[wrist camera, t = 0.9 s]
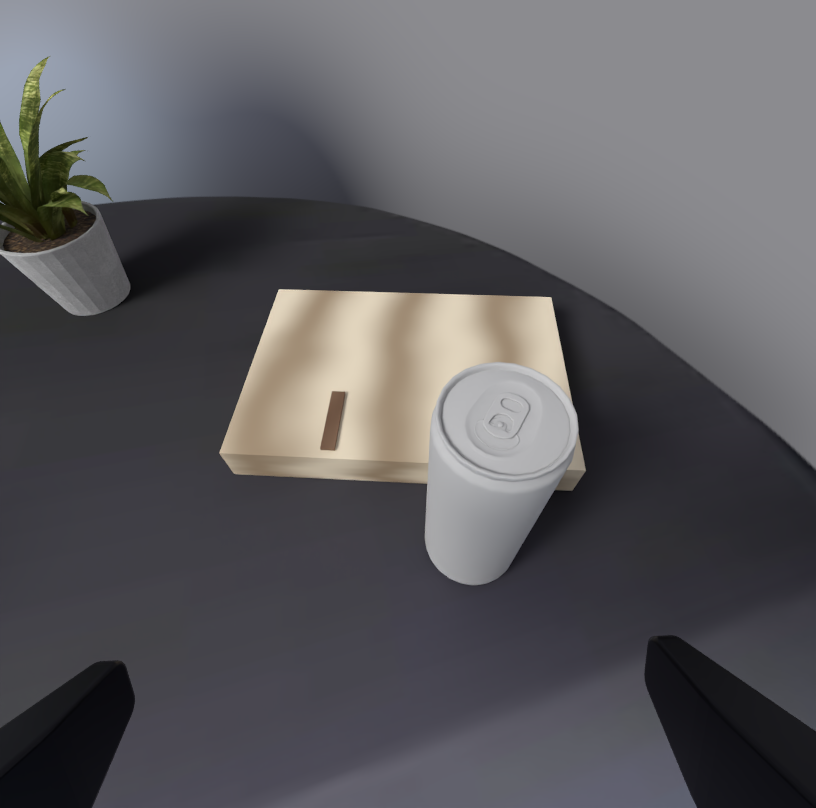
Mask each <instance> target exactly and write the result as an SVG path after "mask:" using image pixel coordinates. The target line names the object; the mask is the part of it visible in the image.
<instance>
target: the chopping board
mask: <svg viewBox="0 0 816 808" xmlns="http://www.w3.org/2000/svg"><path fill="white" fill-rule="evenodd" d="M492 362H504V363H515V364H518V365H522V366H525V367H529V368H532V369H534V370H536V371H538V372H540V373H542V374H544V375H546V376H547V377H549V378H550V379H551V380H552V381H554V382H555V383H556V384H557V385H559V386H560V387H561V388H562V390H563V391H564V392H565V393H566V395H567V396H568V397H569V398H570V400H571V402H572V399H571V394H570V389H569V384H568V379H567V374H566V369H565V364H564V359H563V354H562V349H561V344H560V339H559V334H558V329H557V324H556V319H555V314H554V309H553V304H552V299H551V297H524V296H490V295H455V294H421V293H386V292H351V291H317V290H282V289H279V291H278V293H277V296H276V299H275V302H274V304H273V307H272V310H271V313H270V315H269V318H268V321H267V324H266V326H265V329H264V332H263V335H262V337H261V340H260V343H259V346H258V348H257V351H256V354H255V357H254V359H253V362H252V365H251V368H250V370H249V373H248V376H247V379H246V381H245V384H244V387H243V390H242V392H241V395H240V398H239V401H238V403H237V406H236V409H235V412H234V414H233V417H232V420H231V423H230V425H229V428H228V431H227V434H226V436H225V439H224V442H223V445H222V447H221V450H220V455H221V456H222V457H223V459H224V460H225V462H226V463H227V464H228V466H229V467H230V469H231V470H232V471H233V473H234V474H244V475H264V476H284V477H304V478H324V479H344V480H365V481H385V482H405V483H425V484H427V482H428V462H429V441H430V427H431V419H432V413H433V410H434V408H435V406H436V403H437V400H438V397H439V395H440V393H441V391H442V389H443V387H444V386H445V385H446V384H447V383H448V382H449V381H450V380H451V379H452V377H454V376H455V375H457V374H458V373H460V372H462V371H463V370H465V369H467V368H470V367H473V366H476V365H479V364H483V363H492ZM585 471H586V469H585V464H584V459H583V454H582V449H581V444H580V439H579V434H578V436H577V441H576V446H575V450H574V455H573V459H572V462H571V463H570V465H569V467H568V468H567V470H566V472H565V473H564V475H563V477H562V478H561V480H560V482H559V483H558V485H557V487H556V489H555V490H566V491H573V489H574V488H575V486H576V485H577V483H578V482H579V480H580V479H581V477H582V476H583V474H584V473H585Z"/></svg>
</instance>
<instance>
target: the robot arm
mask: <svg viewBox="0 0 816 808" xmlns="http://www.w3.org/2000/svg"><path fill="white" fill-rule="evenodd" d="M645 683H646V687H647V690H648V692H649V695H650V697H651V700H652V702H653V705H654V707H655V709H656V712H657V714H658V717H659V719H660V722H661V724H662V726H663V729H664V731H665V734H666V736H667V739H668V741H669V743H670V746H671V748H672V751H673V753H674V755H675V758H676V760H677V763H678V765H679V768H680V770H681V772H682V775H683V777H684V780H685V782H686V784H687V787H688V789H689V791H690V793H691V796H692V798H693V800H694V802H695V804H696V806H697V808H816V731H814V730H813V729H811V728H810V727H809V726H807V725H806V724H804V723H803V722H801V721H800V720H798V719H797V718H796V717H794V716H793V715H791V714H790V713H788V712H787V711H785V710H784V709H782V708H781V707H780V706H778V705H777V704H775V703H774V702H772V701H771V700H769V699H768V698H766V697H765V696H764V695H762V694H761V693H759V692H758V691H756V690H755V689H753V688H752V687H750V686H749V685H748V684H746V683H745V682H743V681H742V680H740V679H739V678H737V677H736V676H734V675H733V674H732V673H730V672H729V671H727V670H726V669H724V668H723V667H721V666H720V665H719V664H717V663H716V662H714V661H713V660H711V659H710V658H708V657H707V656H705V655H704V654H703V653H701V652H700V651H698V650H697V649H695V648H694V647H692V646H691V645H689V644H688V643H687V642H685V641H684V640H682V639H681V638H679V637H677V636H673V635H668V636H653V637H651V638H650V639H649V641H648V647H647V655H646V664H645ZM134 704H135V695H134V691H133V688H132V685H131V682H130V678H129V675H128V672H127V668H126V666H125V664H124V663H123V662H122V661H100V662H96V663H94V664H93V665H91V666H89V667H88V668H87V669H85V670H84V671H82V672H81V673H79V674H78V675H76V676H75V677H74V678H72V679H71V680H69V681H68V682H66V683H65V684H63V685H62V686H61V687H59V688H58V689H56V690H55V691H53V692H52V693H50V694H49V695H48V696H46V697H45V698H43V699H42V700H40V701H39V702H37V703H36V704H35V705H33V706H32V707H30V708H29V709H27V710H26V711H24V712H23V713H22V714H20V715H19V716H17V717H16V718H14V719H13V720H11V721H10V722H9V723H7V724H6V725H4V726H3V727H1V728H0V808H92V806H93V804H94V802H95V800H96V797H97V795H98V793H99V790H100V788H101V786H102V783H103V781H104V778H105V776H106V774H107V771H108V769H109V767H110V764H111V762H112V760H113V757H114V755H115V753H116V750H117V748H118V745H119V743H120V741H121V738H122V736H123V734H124V731H125V729H126V727H127V724H128V722H129V720H130V717H131V715H132V712H133V709H134Z"/></svg>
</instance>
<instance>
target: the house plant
mask: <svg viewBox="0 0 816 808" xmlns="http://www.w3.org/2000/svg"><path fill="white" fill-rule="evenodd" d="M48 58H49V57H47V58H45V59H43V60H42V61H41V62H40V63H38V64H37V65H36V66H35V67H34V68H33V69H32V70H31V72H30V74H29V76H28V78H27V81H26V83H25V86H24V91H23V97H22V104H21V112H20V118H19V135H20V138H21V142H22V146H23V150H24V157H25V165H26V173H27V180H28V183H27V181H26V178H25V176H24V173H23V170H22V168H21V165H20V162H19V160H18V158H17V156H16V154H15V152H14V150H13V148H12V146H11V144H10V142H9V140H8V138H7V136H6V134H5V132H4V129H3V127H2V125H1V123H0V201H1V202H3V203H4V204H5V205H4V204H2V203H0V220H1V221H3V223H2V224H1V225H0V254H1V255H2V256H4V257H5V258H6V259H7V260H8V261H9V262H11V263H12V264H13V265H14V266H15V267H16V268H18V269H19V270H20V271H21V272H22V273H23V274H25V275H26V276H27V277H28V278H29V279H30V280H32V281H33V282H34V283H35V284H36V285H37V286H39V287H40V288H41V289H42V290H43V291H45V292H46V293H47V294H48V295H49V296H50V297H52V298H53V299H54V300H55V301H56V302H57V303H59V304H60V305H61V306H62V307H63V308H64V309H66V310H67V311H68V312H69V313H71V314H74V315H80V316H88V315H95V314H99V313H102V312H105V311H107V310H110V309H112V308H113V307H115V306H117V305H118V304H120V303H121V302H122V301H123V300H124V299H125V298H126V297H127V295H128V294H129V291H130V283H129V280H128V278H127V276H126V273H125V271H124V268H123V266H122V264H121V261H120V259H119V257H118V254H117V252H116V249H115V247H114V245H113V242H112V240H111V238H110V235H109V233H108V230H107V228H106V226H105V223H104V221H103V218H102V216H101V214H100V212H99V210H98V209H97V207H95V206H93V205H92V204H90V203H87V202H83V201H81V199H80V198H79V196H77V195H76V194H75V193H72V192H67V185H73V186H77V187H81V188H84V189H88V190H92V191H96V192H99V193H101V194H103V195H105V196H107V197H108V198H109V199H110V200H111V198H110V197H109V194H108V192H107V190H106V188H105V185H104V184H103V183H102V182H101V181H99V180H98V179H96V178H94V177H93V176H88V175H77V176H73V177H72V178H70V179H69V180H68V177H69V171H70V168H71V166H72V164H74V163H75V162H76V161H78V160H83V159H81V158H80V157H78V156H77V154H78V153H80V152H82V151H84V150H81V151H71V152H63V151H62V150H64V149H65V148H67V147H68V146H70V145H72V144H74V143H77V142H79V141H82V140H84V139H86V138H87V137H86V138H82V139H78V140H74V141H70V142H66V143H63V144H61V145H58V146H56V147H54V148H52V149H50V150H48V151H47V152H45V153H44V154H43V155H42V156H41V157H40V158H39V156H38V155H39V124H40V119H41V115H42V111H43V108H44V107H45V105H46V103H47V102H48V101H49V99H51V98H52V97H53V96H54V95H56V94H58V93H59V92H61V91H63V90H60V91H57V92H55V93H54V94H53V95H51V96H50V97H49V99H48V100H47V101H46V103H45V104H44V105H43V107H42V108H41V109H40V111H39V106H40V100H41V99H40V90H39V78H40V76H41V73H42V71H43V69H44V67H45V64H46V61H47V59H48ZM38 112H39V113H38ZM83 161H84V160H83Z"/></svg>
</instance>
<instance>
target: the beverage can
mask: <svg viewBox="0 0 816 808" xmlns="http://www.w3.org/2000/svg"><path fill="white" fill-rule="evenodd" d="M578 431H579V428H578V419H577V413H576V411H575V409H574V407H573V404H572V402H571V400H570V398H569V397H568V396H567V395H566V393H565V392H564V391H563V390H562V388H561V387H560V386H559V385H557V384H556V383H555V382H554V381H552V380H551V379H550V378H549V377H547V376H546V375H544V374H542V373H540V372H538V371H536V370H534V369H532V368H529V367H525V366H522V365H518V364H515V363H504V362H492V363H483V364H479V365H476V366H473V367H470V368H467V369H465V370H463V371H462V372H460V373H458V374H457V375H455V376H454V377H452V379H451V380H450V381H449V382H448V383H447V384H446V385H445V386H444V387H443V389H442V391H441V393H440V395H439V397H438V400H437V403H436V406H435V408H434V410H433V413H432V419H431V427H430V441H429V462H428V482H427V503H426V523H425V542H426V548H427V551H428V554H429V556H430V558H431V561H432V562H433V563H434V564H435V566H436V567H437V568H438V569H439V571H441V572H442V573H443V574H444V575H446V576H447V577H448V578H450V579H452V580H454V581H457V582H459V583H462V584H469V585H479V584H486V583H489V582H491V581H493V580H495V579H498V578H499V577H500V576H501V575H502V574H503V573H504V572H506V571H507V569H508V567H509V566H510V564H511V562H512V561H513V559H514V557H515V556H516V554H517V552H518V550H519V549H520V547H521V545H522V544H523V542H524V540H525V539H526V537H527V535H528V534H529V532H530V530H531V529H532V527H533V525H534V524H535V522H536V520H537V518H538V517H539V515H540V513H541V512H542V510H543V508H544V507H545V505H546V503H547V502H548V500H549V498H550V497H551V495H552V494H553V492H554V490H555V489H556V487H557V485H558V483H559V482H560V480H561V478H562V477H563V475H564V473H565V472H566V470H567V468H568V467H569V465H570V463H571V462H572V459H573V455H574V450H575V446H576V441H577V436H578Z"/></svg>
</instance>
